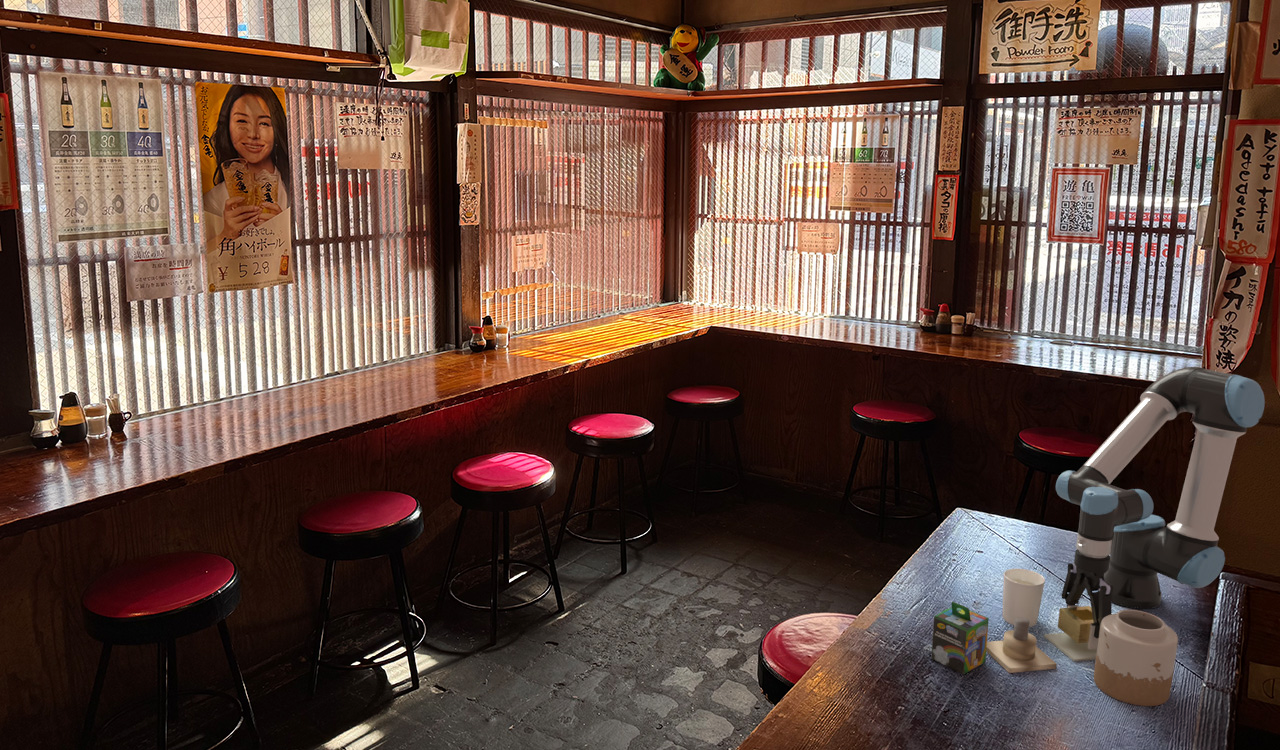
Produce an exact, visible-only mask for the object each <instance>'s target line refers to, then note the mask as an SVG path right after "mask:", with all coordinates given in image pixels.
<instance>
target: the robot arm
mask: <svg viewBox="0 0 1280 750" xmlns="http://www.w3.org/2000/svg"><path fill="white" fill-rule="evenodd" d="M1139 400H1140V402H1139V403H1138V404H1137V405H1136V406H1135V407H1134V409H1133V410H1131V412H1130V413H1129V414H1128V415H1127V416H1126V417H1125V418H1124V419H1123V421H1122V422H1121V423H1120V424H1119V425H1118V426H1117V427H1116V428H1115V430H1114V431H1112V433H1111V434H1110V435H1109V436H1108V437H1107V439H1105V441H1104V442H1103V443H1102V444H1101V445H1100V446H1099V447H1098V449H1096V451H1095V452H1093V454H1092V455H1091V456H1090V457H1089V459H1087V461H1086V462H1085V463H1083V465H1082V466H1081V467H1080V468H1079V469H1078V470H1077V471H1075V470H1065V471H1063V472H1061V474H1060V475H1058V478H1057V480H1056V483H1055V491H1056V493H1057V496H1059V497H1060V498H1061V499H1063V500H1066V501H1068V502H1069V503H1071V504H1073V505H1074V504H1075V505H1078V506H1080V513H1079V522H1078V529H1077V536H1076V550H1075V551H1074V552H1075V553H1074V559H1073V560H1074V561H1073V562H1071V563H1067V573H1066V575H1065V580H1064V585H1063V588H1062V591H1061V596H1060V597H1061V599H1063V600H1064V601H1065V605H1066V608H1071V607H1080V606H1079V605H1080V599H1081V597H1082V596H1083V593H1084V592H1085V590H1086V594H1087V596H1088V597H1089V601H1090V607H1091V608H1092V615H1093V622H1094V623H1091V626H1090V633H1089V641H1088V649H1089V650H1091V649H1097V646H1098V639H1099V631H1100V624H1101V621H1102V619H1103V618H1104V617H1106V616H1108V615H1111V614H1113V613H1112V612H1113V611H1112V610H1113V609H1112V605H1113V604H1115V605H1117V606H1118V605H1119V606H1122V607H1127V608H1130V609H1135V610H1148V609H1155V608H1157V607H1159V606H1160V605H1161V604H1162V595H1163V594H1162V591H1161V586H1160V585H1161V584H1160V581H1159V577H1158V574H1160V575H1162V576H1164V577H1167V578H1169V579H1172V580H1174V581H1176V582H1177V583H1179V584H1181V585H1186V586H1189V587H1191V588H1194V589H1201V588H1205V587H1207V586H1209V585H1210V584H1211V583H1213V581H1215V580H1216V579H1217V577H1218V576H1219V575H1220V574H1221V572H1222V570H1223V568H1224V565H1225V561H1226V556H1225V552H1224V550H1223V549H1222V548H1220V547H1218V543H1219V540H1220V537H1219V536H1218V534H1217V533H1216V531H1215V527H1216V522H1217V518H1218V515H1219V511H1220V508H1221V507H1220V506H1221V503H1222V499H1223V495H1224V490H1225V488H1226V483H1227V479H1228V476H1229V472H1230V468H1231V467H1230V466H1231V463H1232V461H1233V460H1232V459H1233V455H1234V452H1235V448H1236V445H1237V444H1236V443H1237V439H1238V438H1239V437H1241V436H1243V435H1246V434H1247V430H1248V428H1252V427H1254V426H1255V425H1257V424H1258V423H1259V422H1260V419H1262V417H1263V414H1264V410H1265V403H1266V401H1265V394H1264V391H1263V390H1262V387H1261V385H1260V384H1259V383H1258V382H1257V381H1255V380H1254V379H1251V378H1248V377H1244V376H1243V375H1239V374H1233V373H1229V372H1222V371H1218V370H1213V369H1206V368H1203V367H1200V366H1187V367H1182V368H1178V369H1176V370H1173V371H1171V372H1169V373H1167V374H1164V375H1163V376H1161V377H1160V378H1158V379H1157V380H1155V381H1154V382H1153V383H1151V384H1150V385H1149V386H1148V387H1147V388H1146V389H1145V390H1144V391H1143V392H1142V393H1141V394H1140V397H1139ZM1185 412H1187V413H1189V414H1190V413H1191V414H1193V419H1192V424H1193V425H1194V427H1195V428H1196V435H1195V439H1194V443H1193V447H1192V450H1191V454H1190V460H1189V462H1188V468H1187V470H1186V476H1185V480H1184V483H1183V486H1182V491H1181V496H1180V500H1179V502H1178V508H1177V512H1176V514H1175V515H1176V516H1175V520H1173V521H1171V522H1170V523H1166V521H1165V519H1164V518H1163V517H1161V516H1159V515H1156V514H1153V512H1154V502H1153V501H1154V500H1153V499H1152V497H1151V496H1150V494H1149V493H1148V492H1146V491H1145V490H1143V489H1140V488H1135V489H1134V488H1131V489H1123V488H1120V487H1117V486H1115V485H1112V484H1111V483H1112V482H1113V480H1115V479H1116V478H1117V477H1118V475H1119V474H1120V473H1121V472H1122V471H1123V470H1124V468H1125V467H1126V466H1127V465H1128V464H1129V463H1130V462H1131V461H1132V460H1133V458H1135V456H1136V455H1137V454H1138V453H1139V452H1140V451H1141V450H1142V449H1143V448H1144V446H1146V444H1147V443H1148V442H1149V441H1150V440H1151V439H1152V438H1153V436H1154V435H1155V434H1156V433H1157V432H1158V431H1159V430H1160V429H1161V427H1163V426H1164V425H1165V423H1166V422H1167V421H1172V420H1175V418H1177V416H1178V415H1179V414H1181V413H1185ZM1166 524H1167V525H1166ZM1165 526H1166V527H1165ZM1112 603H1113V604H1112ZM1160 603H1161V604H1160ZM1098 619H1099V620H1098Z"/></svg>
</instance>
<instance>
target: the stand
mask: <svg viewBox="0 0 1280 750" xmlns="http://www.w3.org/2000/svg"><path fill="white" fill-rule="evenodd" d="M1029 630H1030V627H1029V621H1028V620H1027V619H1025V618H1016V619H1015V623H1014V625H1013V629H1010V630H1006V631H1005V632H1004V633H1003V639H1002V640H994V641H987V648H986V653H987V654H989V655H990V657H992V659H994V661H996V662H997V663H998V664H999V665H1000V666H1001V667H1003V669H1004V670H1005V671H1006V672H1008V674H1012V673H1022V672H1034V671H1035V672H1036V671H1042V670H1043V671H1044V670H1045V671H1046V670H1050V669H1051V670H1053V669H1055V670H1056V669H1057V664H1058V663H1056V661H1054V660H1053V659H1052V658H1051V657H1049V656H1048V655H1047V654H1046V653H1045V652H1044V651H1043V650H1041V649H1040V648H1039V647H1038V646H1037V642H1038V641H1037V638H1036V636H1035V635H1033V634H1031V633H1029Z"/></svg>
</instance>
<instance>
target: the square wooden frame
mask: <svg viewBox="0 0 1280 750" xmlns="http://www.w3.org/2000/svg"><path fill="white" fill-rule="evenodd" d="M1057 619H1058V620H1057V628H1058V629H1059V630H1060V631H1062V633H1066V634H1067V635H1068V636H1069V637H1071V638H1072V639H1073V640H1074V641H1076V642H1077V643H1088V641H1089V633H1090V626H1091V623H1094V622H1093V615H1092V608H1091V605H1084V606H1079V607H1071V608H1067V607H1061V608H1059V614H1058V618H1057ZM1098 620H1099V619H1098Z"/></svg>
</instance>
